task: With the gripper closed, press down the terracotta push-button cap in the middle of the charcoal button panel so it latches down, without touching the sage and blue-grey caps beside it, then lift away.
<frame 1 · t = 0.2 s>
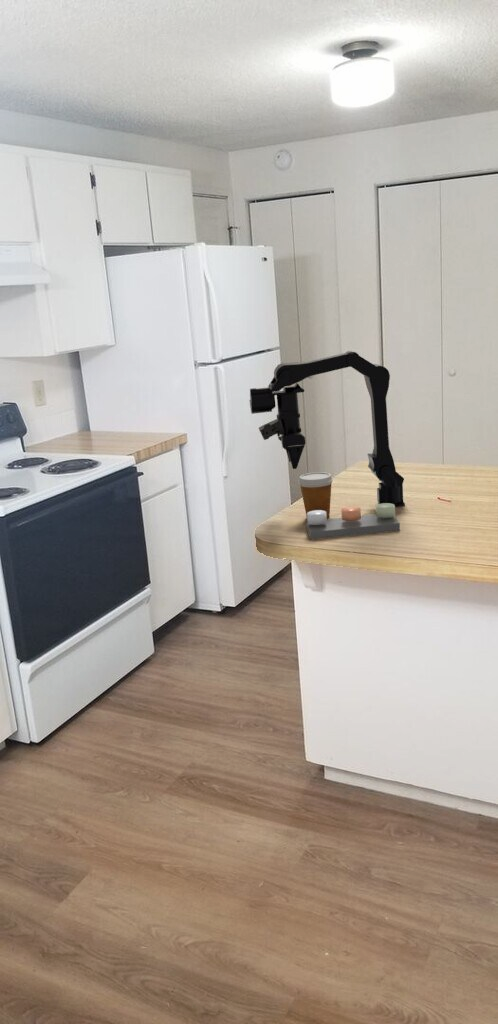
hand: (292, 465, 231), 14 cm above the table, fingers open, 9 cm apart
disposable coffee cup: (318, 518, 230), on the table
button bluegrey: (316, 517, 215), point 4 cm above the table, slide at 0.0 cm
button terracotta: (351, 513, 215), point 4 cm above the table, slide at 0.0 cm
button sage: (385, 510, 215), point 4 cm above the table, slide at 0.0 cm
panel: (352, 529, 216), on the table
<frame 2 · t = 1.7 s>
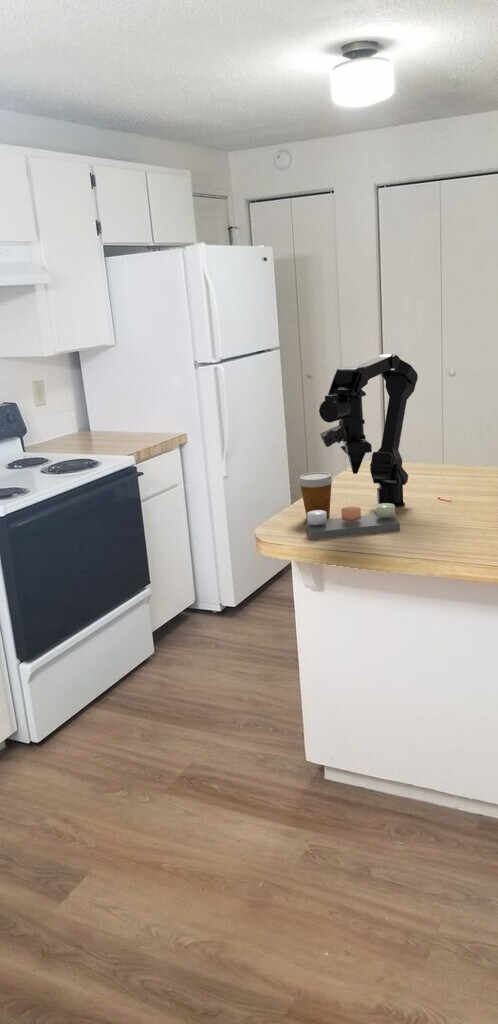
hand: (355, 473, 221), 13 cm above the table, fingers closed
nothing on the table moved.
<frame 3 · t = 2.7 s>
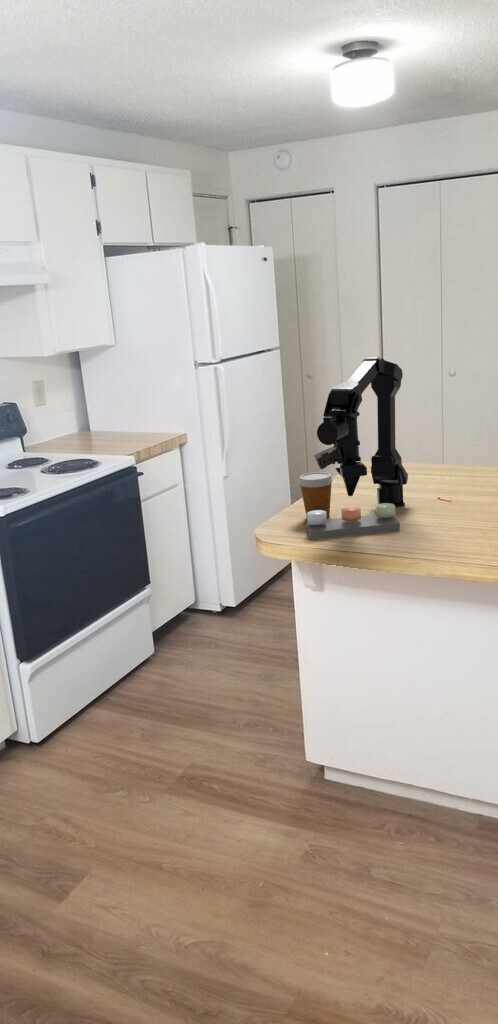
hand: (350, 495, 214), 9 cm above the table, fingers closed
nothing on the table moved.
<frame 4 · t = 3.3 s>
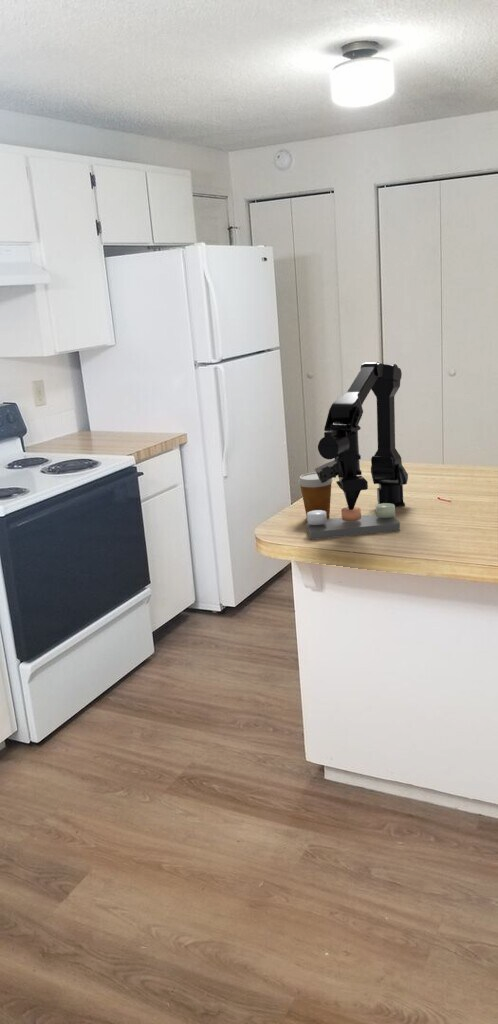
hand: (350, 509, 215), 5 cm above the table, fingers closed, pressing on button terracotta
button terracotta: (351, 513, 215), point 4 cm above the table, slide at 0.0 cm, touching gripper
everything else where it was.
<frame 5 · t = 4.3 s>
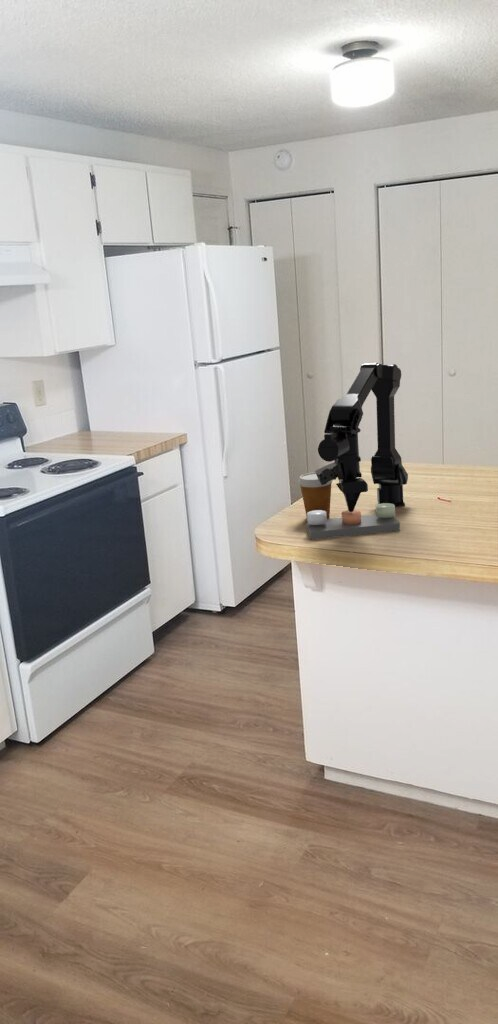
hand: (350, 511, 215), 5 cm above the table, fingers closed
button terracotta: (351, 517, 215), point 3 cm above the table, slide at 0.9 cm
everything else where it was.
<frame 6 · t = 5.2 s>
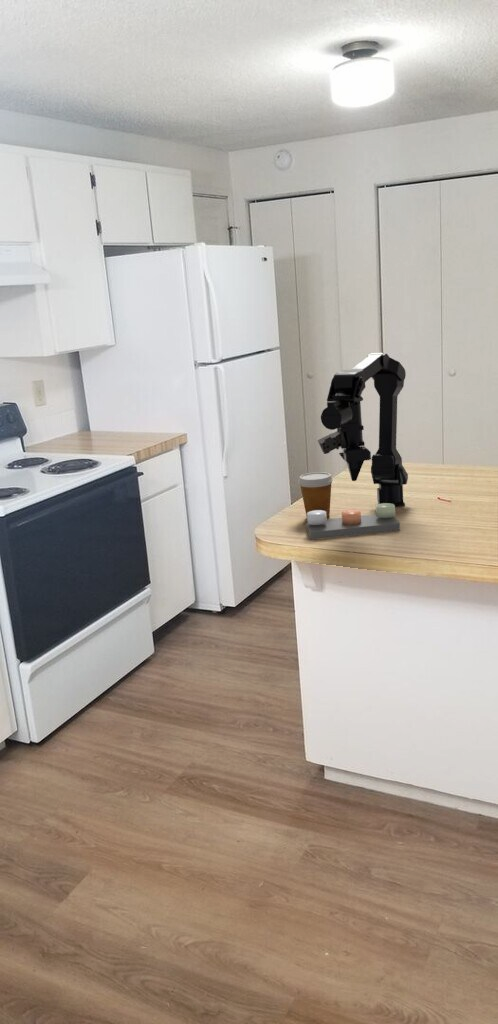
hand: (354, 480, 215), 13 cm above the table, fingers closed
nothing on the table moved.
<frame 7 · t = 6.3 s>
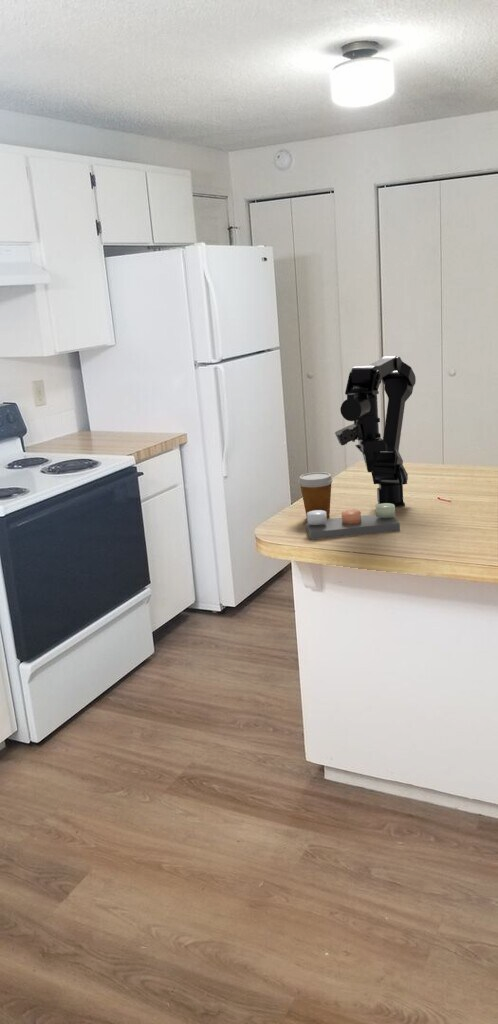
hand: (369, 471, 221), 13 cm above the table, fingers closed
nothing on the table moved.
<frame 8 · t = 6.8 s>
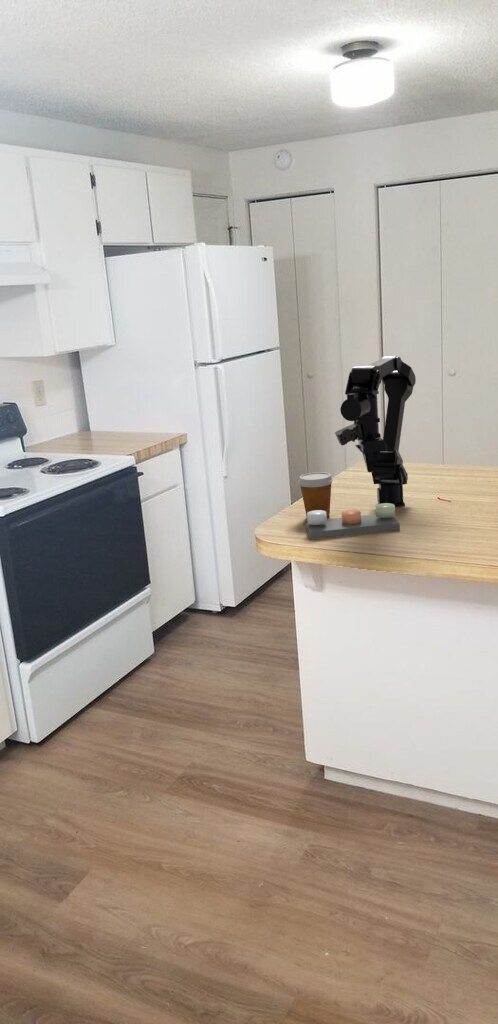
hand: (369, 471, 221), 13 cm above the table, fingers closed
nothing on the table moved.
at the end: button terracotta slide at 0.9 cm; button sage slide at 0.0 cm; button bluegrey slide at 0.0 cm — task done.
